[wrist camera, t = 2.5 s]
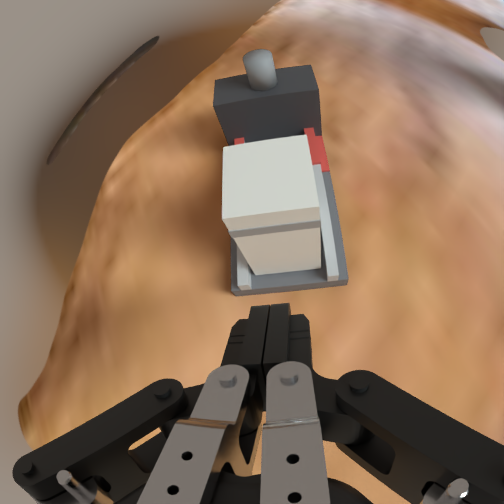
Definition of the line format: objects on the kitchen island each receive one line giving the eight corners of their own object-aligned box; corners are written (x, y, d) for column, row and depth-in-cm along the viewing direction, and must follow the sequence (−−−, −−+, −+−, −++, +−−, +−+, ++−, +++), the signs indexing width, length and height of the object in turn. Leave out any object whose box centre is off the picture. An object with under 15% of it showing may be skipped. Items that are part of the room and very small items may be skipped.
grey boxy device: (346, 285, 25) (361, 222, 15) (236, 296, 26) (187, 243, 17) (315, 118, 32) (307, 37, 23) (234, 130, 34) (206, 54, 24)
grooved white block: (321, 268, 24) (320, 207, 16) (254, 276, 25) (221, 219, 17) (313, 210, 26) (307, 133, 18) (252, 217, 27) (222, 146, 19)
